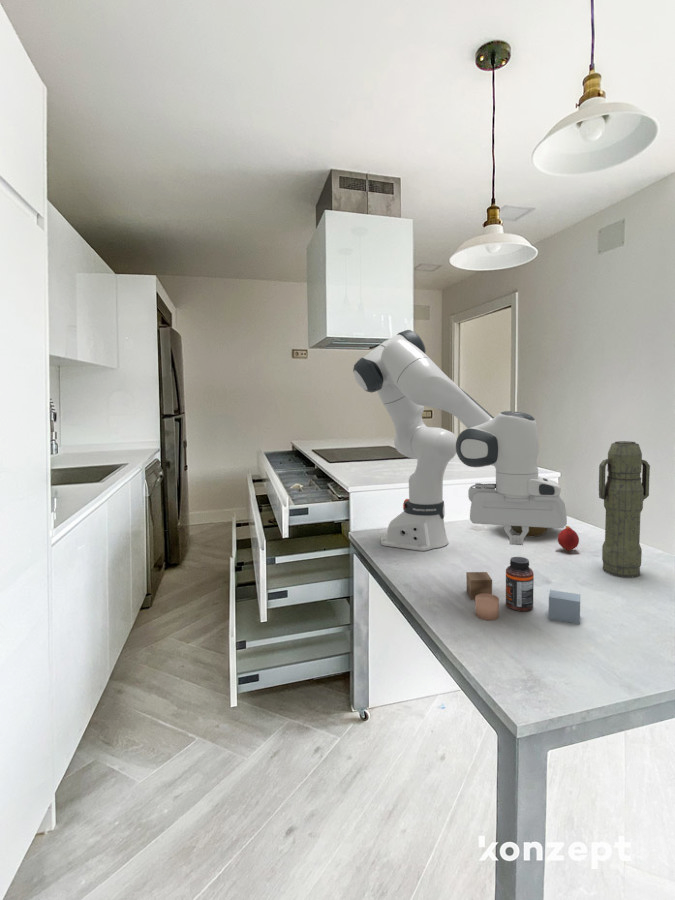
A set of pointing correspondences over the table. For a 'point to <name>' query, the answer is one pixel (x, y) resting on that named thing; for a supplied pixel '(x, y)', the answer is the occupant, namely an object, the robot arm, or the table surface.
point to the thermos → (623, 507)
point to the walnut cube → (478, 583)
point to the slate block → (564, 606)
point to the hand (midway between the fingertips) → (516, 544)
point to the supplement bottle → (519, 584)
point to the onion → (568, 539)
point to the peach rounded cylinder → (487, 606)
